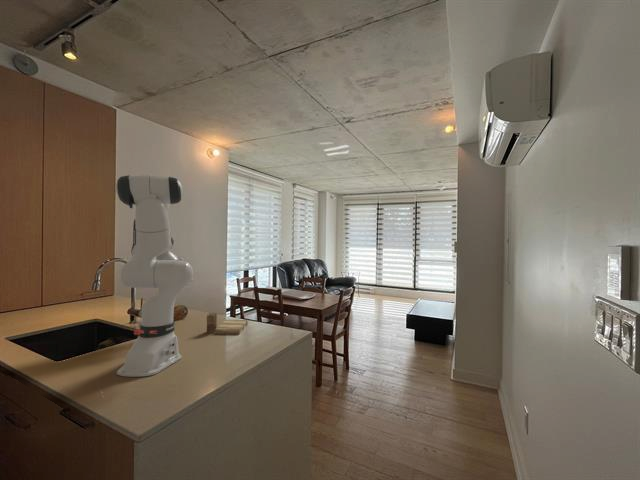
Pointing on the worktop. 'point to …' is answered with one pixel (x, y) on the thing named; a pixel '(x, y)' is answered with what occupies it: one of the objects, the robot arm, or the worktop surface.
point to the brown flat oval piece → (180, 312)
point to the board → (231, 327)
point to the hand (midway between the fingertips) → (188, 282)
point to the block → (211, 322)
